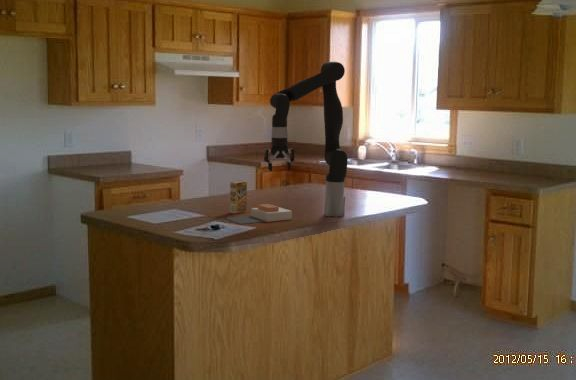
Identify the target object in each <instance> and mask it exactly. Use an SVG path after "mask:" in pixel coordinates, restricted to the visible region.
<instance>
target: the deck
mask: <svg viewBox="0 0 576 380" xmlns="http://www.w3.org/2000/svg"><path fill="white" fill-rule="evenodd" d="M278 207H279V211H274V212H266V211H263V210H260V209H258V207H251V211H250V216H252V217H255V218H258V219H261V220H264V221H266V222H267V223H268V222H277V221H288V220H292V219H293V214H292V213H293V211H292V210H289V209H286V208H283V207H280V206H278ZM266 222H265V223H266Z"/></svg>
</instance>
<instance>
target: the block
mask: <svg viewBox="0 0 576 380" xmlns="http://www.w3.org/2000/svg"><path fill="white" fill-rule="evenodd" d="M279 207H280V206H277V205H273V204H270V203H264V204H263V203H262V204H257V208H258V209H260V210H263V211H266V212H274V211H279Z"/></svg>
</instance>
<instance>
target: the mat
mask: <svg viewBox="0 0 576 380" xmlns="http://www.w3.org/2000/svg"><path fill="white" fill-rule="evenodd" d="M224 220H226V221H230V222H233V223H235V224H238V225H250V224H257V223H266V221H264V220H261V219H258V218H255V217H252V216H251V215H245V216H235V217H226V218H225V219H224Z"/></svg>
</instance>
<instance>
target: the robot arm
mask: <svg viewBox="0 0 576 380" xmlns="http://www.w3.org/2000/svg"><path fill="white" fill-rule="evenodd" d="M320 68H321V69H320V72H319V73H317V74H315V75H313V76H310V77H307V78H305V79H303V80H300V81H298V82H296V83H293V84H292V85H291V86H289V87H288V88H284V89H282V90H279V91H277V92H276V93H273V94H272V95H271V97H270V99H269V104H270V107H272V108H274V109H275V111H274V112H275V113H274V114H273V115H272V116H271V117H272V118H271V148H270V149H269V148H265V149H264V153H263V154H264V156H263V158H264V159H263V161H264V162H266V163H267V169H268V170H269V172H273V163H272V162H273V161H274V160H275V159H284V160H285V161H286V166H285V167H286V171H290V170H291V163H292V162H294V161H295V150H294V148H292V147H290V148H288V138H289V137H288V136H289V133H288V117H289V111H290V103H291V102H295V101H298V100H300V99H301V98H302V99H303V97H305V96H307V95H309V94H311V93H312V92H314V91H315V90H318V89H319V88H322V95H323V96H322V98H323V122H324V136H325V137H324V139H325V142H324V161H325V163H326V165H327V166H329V169H328V170H329V171H328V173H327V174H326V175H325V191H324V193H325V194H324V210H323V211H324V213H323V214H324V216H327V217H330V216H333V218H339V217H338V216H340V217H343V216H345V211H346V209H345V206H346V196H345V195H344V194H345V180H346V176H347V172H348V171H347V170H348V155H347V153H346V151H345V150H343V149H341V147H340V134H341V131H342V127H343V124H344V123H343V122H344V111H343V105H342V101H341V99H340V97H339V95H338V91H337V82H338V81H340V80H341V79H342V78H343V77H344V76H345V71H346V70H345V67H344V65H343V63H341V62H339V61H327V62H324V63H323V64H322V65H321V67H320ZM288 153H289V156H290V157H289V156H288V155H287V154H288ZM269 154H271V155H270V157H269ZM342 215H343V216H342Z"/></svg>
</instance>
